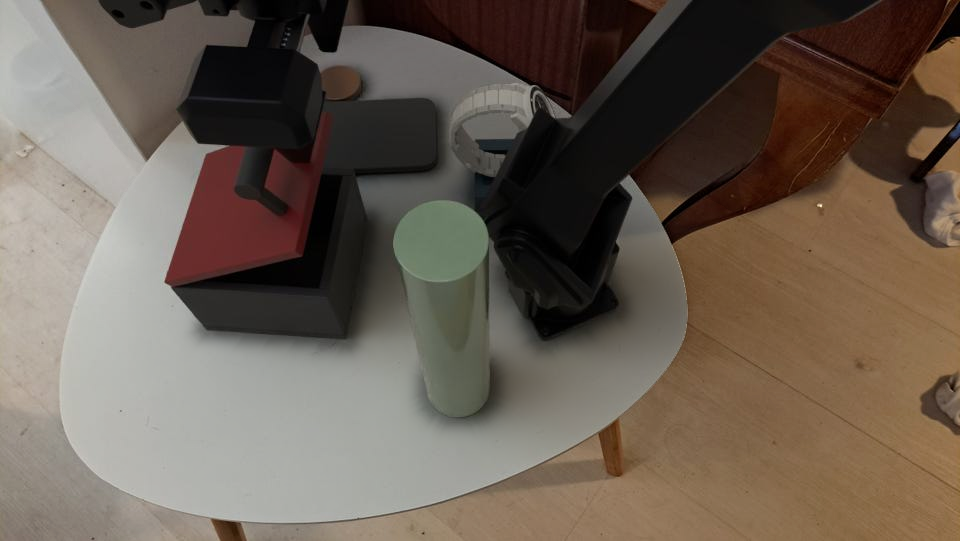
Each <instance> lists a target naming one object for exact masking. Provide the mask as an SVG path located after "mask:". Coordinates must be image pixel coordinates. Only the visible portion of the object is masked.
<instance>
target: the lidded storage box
mask: <svg viewBox="0 0 960 541" xmlns="http://www.w3.org/2000/svg"><path fill="white" fill-rule="evenodd" d="M356 175H357V174H355V172H354V169H353V168H337V167H323V168H322V172H321V177H320V181H319V186H318V190H317V194H316V199H315V203H314V208H313V212H312V217H311V221H310V225H309V230H308V234H307V239H306V243H305V247H304V252H303V256H301V257H297V258H293V259H288V260H284V261H280V262H276V263H272V264H267V265H263V266H259V267H255V268H250V269H246V270H242V271H238V272H233V273H229V274H225V275H221V276H217V277H212V278H208V279H204V280H200V281H195V282H191V283H187V284H183V285H178V286H174V287H171V286H170V289H171V290H172V291H173V292H174V294H175V295H176V296H177V297H178V298H179V299H180V301H181V302H182V303H183V305H185V307H186V308H187V309H188V310H189V311H190V313H191V314H192V315H193V316H194V317H195V318H196V319H197V321H198V322H199V323H200V324H201V325H202V327H203V328H204V329H205V330H207V331H219V332H221V331H222V332H237V333H248V334H249V333H251V334H265V335H278V336H280V335H281V336H293V337H307V338H308V337H309V338H322V339H338V340H347V336H348V331H349V330H348V329H349V324H350V318H351V312H352V307H353V303H354V297H355V291H356V285H357V280H358V275H359V269H360V265H361V264H360V263H361V257H362V254H363V248H364V241H365V236H366V230H367V225H368V215H367V212H366V208H365V204H364V201H363V197H362V193H361V191H360V187H359V184H358V179H357V176H356Z"/></svg>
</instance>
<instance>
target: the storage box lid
mask: <svg viewBox="0 0 960 541" xmlns="http://www.w3.org/2000/svg"><path fill="white" fill-rule="evenodd" d="M333 120H334V117H333V116H332V115H331V114H330V113H329V112H324V113H322V115H321V119H320V124H319V128H318V132H317V136H316V141H315V144H314V149H313V153H312V157H311V161H310V163H308V164H306V163H294V162H292V161H290V160H289V159H288V158H287V157H285V156H284V155H283V154H282V153H280V152H279V151H278V150H277V149H275V148H262V147H244V146H227V145H226V146H225V147H222V148H218V149H215V150H213V151H211V152H208V153H205V156H204V158H203V162H202V163H201V164H202V165H201V168H200V170H199V174H198V177H197V180H196V183H195V186H194V188H193V192H192V195H191V199H190V202H189V204H188V208H187V210H186V214H185V216H184V219H183V223H182V226H181V229H180V232H179V235H178V239H177V241H176V244H175V248H174V250H173V253H172V257H171V260H170V263H169V266H168V269H167V271H166V275H165V279H164V281H163V283H164V284H166V285H167V286H170V288H171V287H174V286H178V285H183V284H187V283H191V282H195V281H200V280H204V279H208V278H212V277H217V276H221V275H225V274H229V273H233V272H238V271H242V270H246V269H250V268H255V267H259V266H263V265H267V264H272V263H276V262H280V261H284V260H288V259H293V258H297V257H301V256H303V252H304V247H305V243H306V239H307V234H308V230H309V225H310V221H311V217H312V212H313V208H314V203H315V199H316V194H317V190H318V186H319V181H320V177H321V172H322V168H323V164H324V159H325V155H326V150H327V146H328V142H329V137H330V133H331V128H332V124H333Z"/></svg>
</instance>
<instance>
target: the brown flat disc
mask: <svg viewBox="0 0 960 541" xmlns="http://www.w3.org/2000/svg"><path fill="white" fill-rule="evenodd" d="M320 74H321V78H322V91H326V98H325V102H337V101H356V99H357V98H358V97H359V95H360V94H361V92H362V89H363V85H362V84H363V83H362V80H361V76H360V74H359V73H358V71H357V70H356V69H355V68H352V67H350V66H348V65H332V66H329V67H326V68H325V69H324V70H322V71H320Z"/></svg>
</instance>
